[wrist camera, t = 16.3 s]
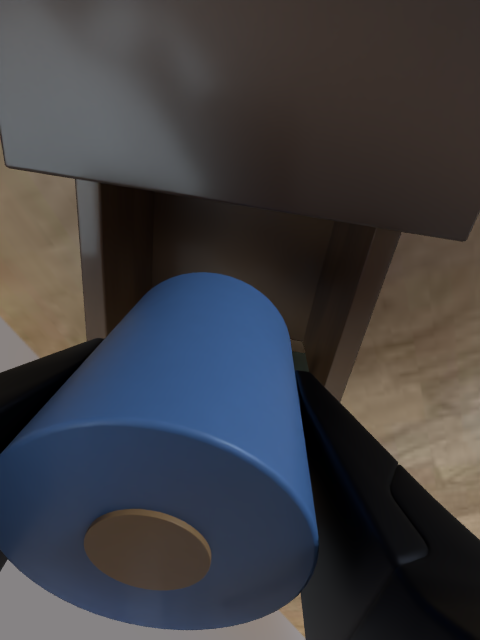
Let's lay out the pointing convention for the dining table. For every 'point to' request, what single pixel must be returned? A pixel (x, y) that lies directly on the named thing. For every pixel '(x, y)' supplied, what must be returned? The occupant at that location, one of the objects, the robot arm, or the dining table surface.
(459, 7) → the cabinet
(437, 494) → the dining table surface
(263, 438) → the towel roll
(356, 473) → the robot arm
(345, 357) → the drawer
